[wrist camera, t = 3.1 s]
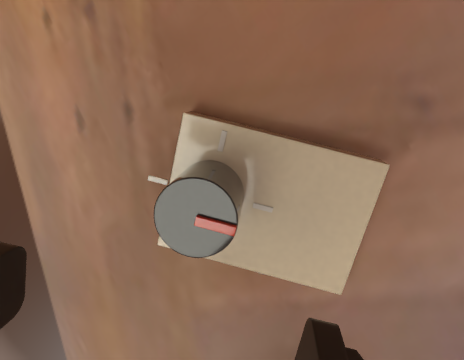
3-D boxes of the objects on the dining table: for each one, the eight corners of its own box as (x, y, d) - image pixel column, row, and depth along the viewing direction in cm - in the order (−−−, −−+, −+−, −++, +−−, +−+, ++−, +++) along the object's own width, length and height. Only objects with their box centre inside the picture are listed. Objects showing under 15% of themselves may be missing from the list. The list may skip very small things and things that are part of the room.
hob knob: (170, 215, 24) (144, 248, 19) (184, 152, 23) (159, 168, 18) (235, 233, 24) (226, 270, 19) (251, 169, 23) (247, 191, 18)
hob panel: (146, 229, 27) (136, 241, 25) (169, 105, 24) (160, 106, 22) (335, 280, 26) (341, 296, 24) (380, 159, 24) (391, 165, 22)
